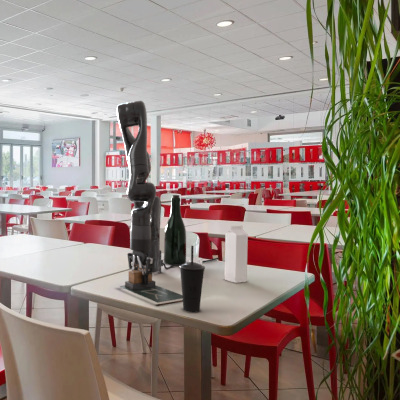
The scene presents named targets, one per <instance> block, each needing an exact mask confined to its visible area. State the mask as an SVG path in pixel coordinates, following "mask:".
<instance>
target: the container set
mask: <svg viewBox="0 0 400 400" xmlns="http://www.w3.org/2000/svg"><path fill="white" fill-rule="evenodd" d="M202 261H203V257H197V256H196V257H195V256H193V262H195V263H199V264H201V265H202V266H203V263H202ZM188 262H191V256H190V257H189V258H188Z"/></svg>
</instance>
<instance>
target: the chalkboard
mask: <svg viewBox="0 0 400 400" xmlns="http://www.w3.org/2000/svg"><path fill="white" fill-rule="evenodd" d="M118 287H119V288H122V289H124V290H127V291H128V292H131V293H134V294H136V295H139V296H141V297H142V298H146V299H147V300H150V301H152V302H155V303H157V304H155V306H156V307H159V306H165V305H166V306H167V305H172V304H177V303H183V297H182V293H181V294H180V293H178V292H176V291H173V290H170V289H167V288H164V287H162V286H158V285H156V284H155V287H151V288H144V289H137V290H132V289H129V288H127V287H125V284H124V285H119V286H118ZM180 299H181V300H180Z"/></svg>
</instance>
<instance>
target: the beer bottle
mask: <svg viewBox="0 0 400 400" xmlns="http://www.w3.org/2000/svg"><path fill="white" fill-rule="evenodd" d="M169 213H170V214H169V217H168V219H167V222H166V225H165V229H164V238H163V239H164V240H163V241H164V242H163V245H164V246H163V263H164V264H165V265H170V266H172V265H175V264H183V263H187V230H186V226H185V222H184V220H183V217H182V212H181V197H180V195H179V194H172V195H171V198H170V212H169Z"/></svg>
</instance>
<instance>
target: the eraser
mask: <svg viewBox="0 0 400 400" xmlns="http://www.w3.org/2000/svg"><path fill="white" fill-rule="evenodd" d="M144 271H145V269H144ZM149 271H150V270H149ZM124 285H125V287H127V288H129V289H132V290H137V289H144V288H151V287H155V285H156V281H155V280H153V273H152V274H149V275H148V285H142V271H141V269H140V270H132V269H131V270H128V280H127V281H126V280H125V281H124Z"/></svg>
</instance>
